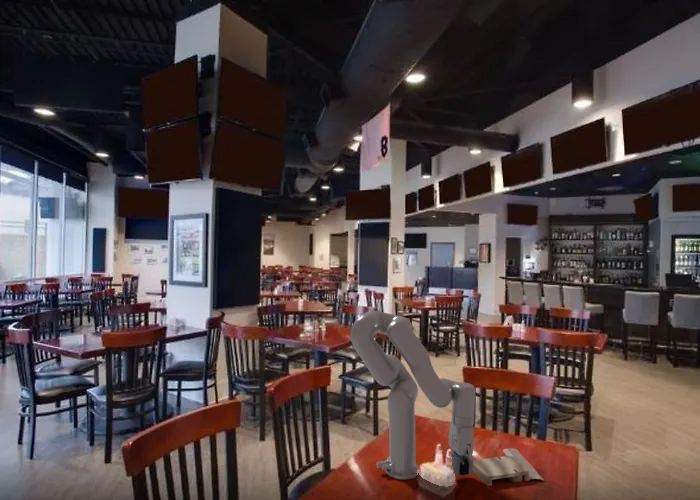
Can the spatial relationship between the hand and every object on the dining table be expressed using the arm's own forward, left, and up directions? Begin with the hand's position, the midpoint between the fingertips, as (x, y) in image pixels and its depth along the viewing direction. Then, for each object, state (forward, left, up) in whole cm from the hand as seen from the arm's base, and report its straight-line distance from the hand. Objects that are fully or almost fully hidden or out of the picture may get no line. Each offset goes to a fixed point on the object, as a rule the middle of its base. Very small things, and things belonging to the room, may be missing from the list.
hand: (460, 469), depth 158 cm
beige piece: (+27, +4, -4) cm, 27 cm away
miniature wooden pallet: (+15, -1, -3) cm, 15 cm away
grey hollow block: (0, 0, -1) cm, 1 cm away
